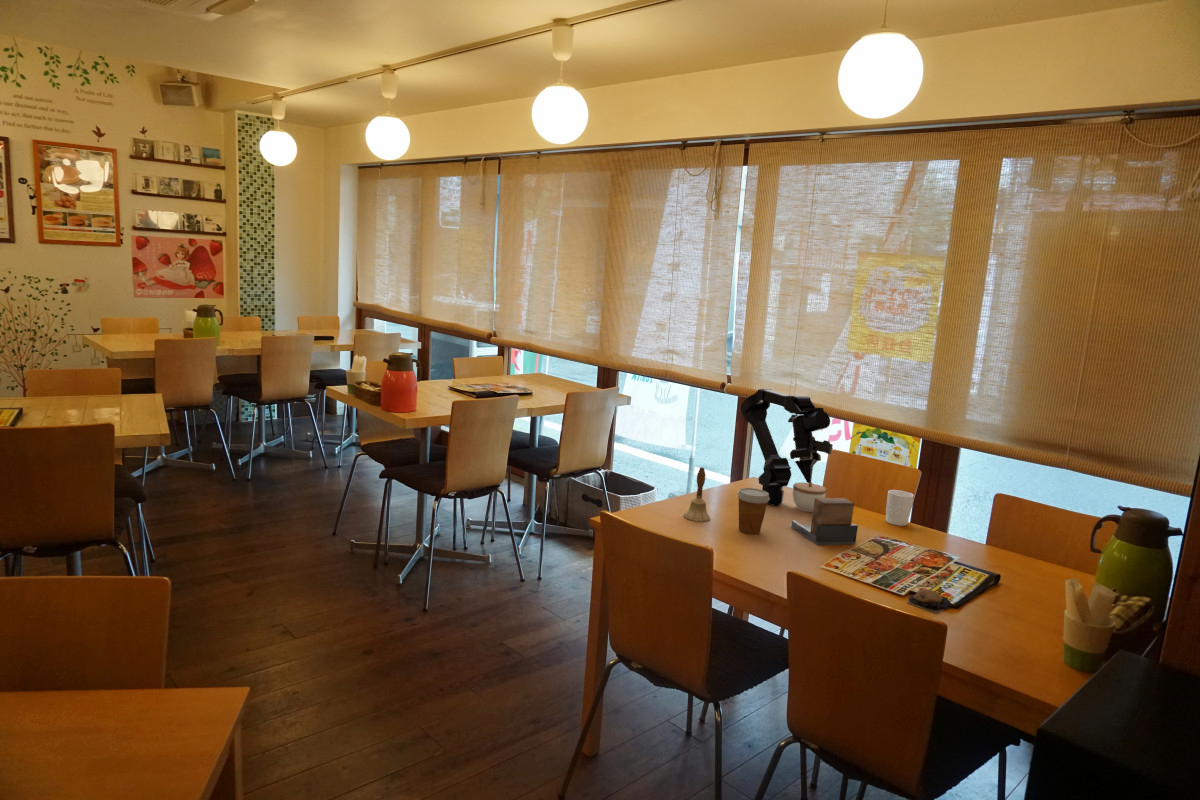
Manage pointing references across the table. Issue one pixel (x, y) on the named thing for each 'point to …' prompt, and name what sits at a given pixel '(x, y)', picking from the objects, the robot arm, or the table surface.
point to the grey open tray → (828, 533)
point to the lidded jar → (807, 495)
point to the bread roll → (929, 601)
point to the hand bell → (698, 502)
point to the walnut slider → (831, 512)
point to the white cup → (898, 507)
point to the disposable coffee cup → (752, 509)
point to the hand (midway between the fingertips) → (809, 482)
